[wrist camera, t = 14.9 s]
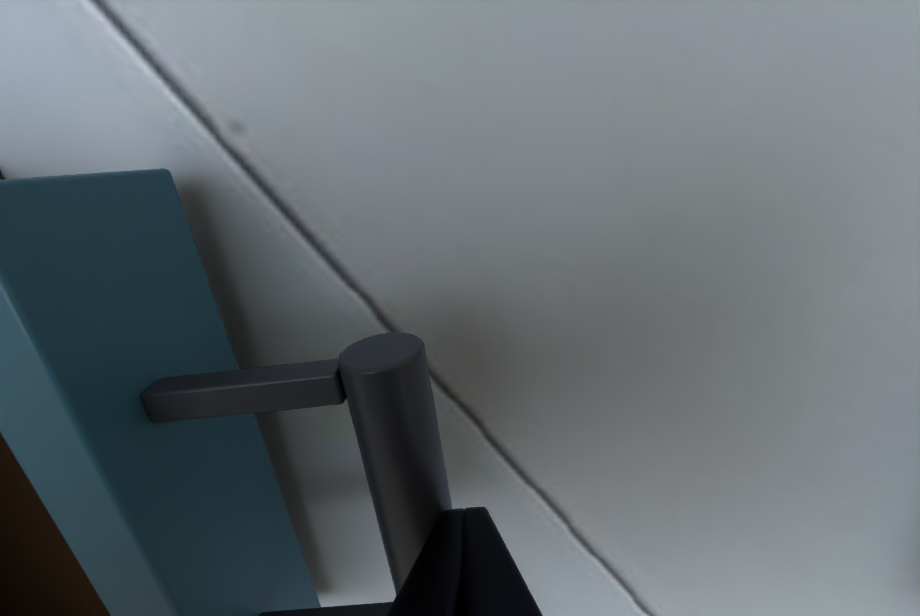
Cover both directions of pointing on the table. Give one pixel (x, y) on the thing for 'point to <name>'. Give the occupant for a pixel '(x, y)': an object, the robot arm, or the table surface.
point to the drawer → (170, 420)
